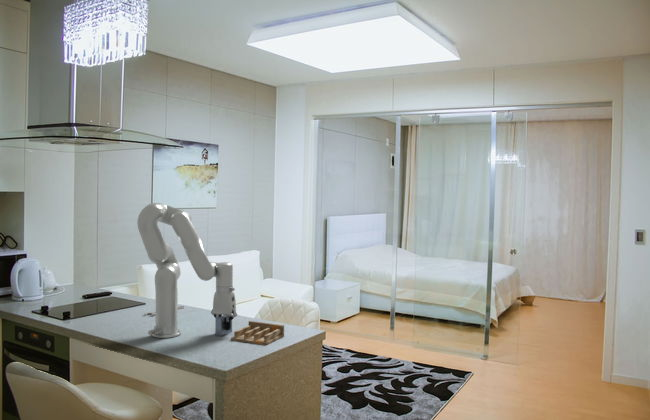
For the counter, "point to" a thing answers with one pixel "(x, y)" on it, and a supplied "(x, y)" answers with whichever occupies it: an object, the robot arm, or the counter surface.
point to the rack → (259, 333)
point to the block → (221, 326)
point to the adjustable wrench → (155, 311)
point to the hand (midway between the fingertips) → (223, 328)
